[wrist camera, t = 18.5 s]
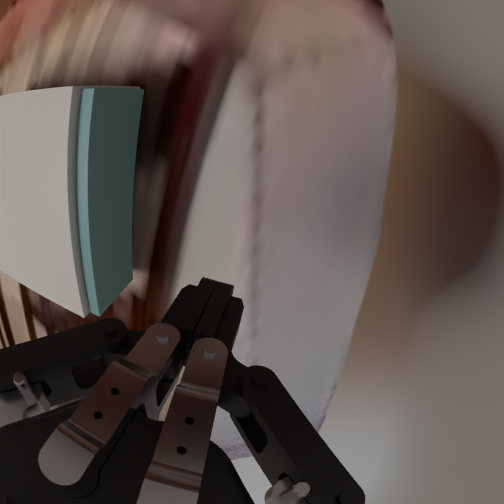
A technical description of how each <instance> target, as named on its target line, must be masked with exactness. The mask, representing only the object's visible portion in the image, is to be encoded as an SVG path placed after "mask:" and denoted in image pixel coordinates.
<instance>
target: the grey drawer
mask: <svg viewBox="0 0 504 504" xmlns="http://www.w3.org/2000/svg"><path fill="white" fill-rule="evenodd" d="M143 95H144V89H125V88H92V89H83V92H82V100H81V109H80V119H79V132H78V152H77V199H78V219H79V233H80V243H81V253H82V261H83V269H84V276H85V283H86V289H87V295H88V300H89V306H90V311H91V313H93V314H95V315H97V316H101V315H102V313H103V312H104V311H105V310H106V309H107V308H108V307H109V305H110V304H111V303H112V302H113V301H114V300H115V299H116V297H117V296H118V295H119V294H120V293H121V292H122V291H123V290H124V288H125V287H126V286H127V285H128V284H129V283H130V282H131V281H132V280H133V273H132V210H133V188H134V172H135V160H136V149H137V139H138V131H139V123H140V115H141V108H142V101H143Z"/></svg>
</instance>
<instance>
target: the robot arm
mask: <svg viewBox="0 0 504 504" xmlns="http://www.w3.org/2000/svg"><path fill="white" fill-rule="evenodd" d="M233 289H234V285H230V284H226V283H223V282H218V281H215V280H212V279H208V278H205V277H203V278H202V279H201V281H200V283H199V284H198V286H194V285H191V284H189V285H187V286H186V287H184V288H183V289H181V291H180V292H179V294H178V295H177V298H176V299H175V300H174V302H173V303H172V305H171V306H170V308H169V309H168V311H167V313H166V314H165V316H164V317H163V319H162V321H161V322H160V323H158V324H154V325H152V326H151V327H149V328H148V330H147V331H133V330H127V327H126V325H125V323H124V322H122V321H121V320H119V319H116V318H106V319H102V320H99V321H96V322H92V323H89V324H86V325H82V326H79V327H76V328H72V329H69V330H66V331H62V332H59V333H55V334H52V335H49V336H45V337H42V338H38V339H35V340H31V341H28V342H24V343H21V344H17V345H13V346H10V347H6V348H3V349H0V504H255V503H254V502H253V500H252V498H251V497H250V495H249V493H248V491H247V490H246V488H245V486H244V484H243V482H242V481H241V479H240V477H239V475H238V473H237V472H236V469H235V468H234V466H233V464H232V462H231V460H230V459H229V457H228V456H227V454H226V453H225V452H224V451H223V450H222V449H221V448H220V447H219V446H217V445H216V444H215V443H213V442H212V441H210V437H211V432H212V428H213V423H214V418H215V413H216V409H217V406H219V407H221V408H222V409H224V410H226V411H227V412H229V413H230V417H231V419H232V421H233V422H234V424H235V426H236V428H237V429H238V431H239V433H240V435H241V436H242V438H243V440H244V441H245V443H246V445H247V446H248V448H249V450H250V451H251V453H252V455H253V456H254V458H255V460H256V461H257V463H258V464H259V466H260V467H261V469H262V471H263V472H264V474H265V475H266V477H267V478H268V480H269V481H270V483H271V484H272V487H271V488H269V490H268V491H267V492H266V494H265V504H365V494H364V492H363V490H362V489H361V487H360V486H359V485H358V484H357V482H356V481H355V480H354V479H353V477H352V476H351V475H350V474H349V472H348V471H347V470H346V469H345V467H344V466H343V465H342V464H341V463H340V461H339V460H338V459H337V457H336V456H335V455H334V453H333V452H332V451H331V450H330V448H329V447H328V446H327V444H326V443H325V442H324V440H323V439H322V438H321V437H320V435H319V434H318V433H317V431H316V430H315V429H314V427H313V426H312V425H311V423H310V422H309V420H308V419H307V418H306V416H305V415H304V414H303V412H302V411H301V410H300V408H299V407H298V405H297V404H296V403H295V401H294V400H293V399H292V397H291V396H290V394H289V393H288V392H287V390H286V389H285V387H284V386H283V385H282V383H281V382H280V380H279V379H278V377H277V376H276V375H275V373H274V372H273V371H272V370H270V369H268V368H266V367H264V366H258V365H255V366H250V367H246V366H245V365H243V364H241V363H240V362H238V361H237V360H236V359H235V358H234V356H233V354H232V348H233V345H234V342H235V339H236V335H237V332H238V329H239V325H240V321H241V317H242V313H243V308H244V306H243V302H242V299H240V298H237V297H233V296H232V294H233ZM98 357H99V358H98ZM95 358H96V359H95ZM92 359H93V360H92ZM89 360H90V361H89ZM85 361H87V362H85ZM82 362H83V363H82ZM79 363H80V364H79ZM76 364H77V365H76ZM183 366H185V370H184V373H183V376H182V379H181V382H180V384H179V385H177V386H176V388H175V391H174V394H173V397H172V400H171V403H170V406H169V409H168V412H167V415H166V418H165V421H158V419H159V414H160V412H161V410H162V408H163V406H164V404H165V402H166V401H167V399H168V397H169V395H170V394H171V392H172V390H173V388H174V386H175V385H176V383H177V381H178V379H179V374H180V372H181V370H182V367H183ZM56 405H58V407H57V408H56V409H53V410H50V407H52V406H56ZM49 410H50V411H49Z"/></svg>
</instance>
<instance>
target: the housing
mask: <svg viewBox="0 0 504 504" xmlns="http://www.w3.org/2000/svg"><path fill="white" fill-rule="evenodd" d="M92 88H125V89H140V87H135V86H68V87H56V88H46V89H38V90H30V91H24V92H17V93H12V94H6V95H1V96H0V270H1V271H2V272H4V273H6V274H7V275H9V276H10V277H12V278H13V279H15V280H17V281H18V282H20V283H21V284H23V285H25V286H26V287H28V288H30V289H32V290H33V291H35V292H37V293H38V294H40V295H42V296H44V297H46V298H47V299H49V300H51V301H53V302H55V303H56V304H58V305H60V306H62V307H64V308H66V309H68V310H70V311H72V312H74V313H76V314H78V315H80V316H82V317H84V318H85V317H86V316H87V314H88V313H89V312H90V306H89V300H88V295H87V289H86V283H85V276H84V269H83V261H82V253H81V243H80V233H79V219H78V199H77V152H78V132H79V119H80V109H81V100H82V92H83V89H92Z"/></svg>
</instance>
